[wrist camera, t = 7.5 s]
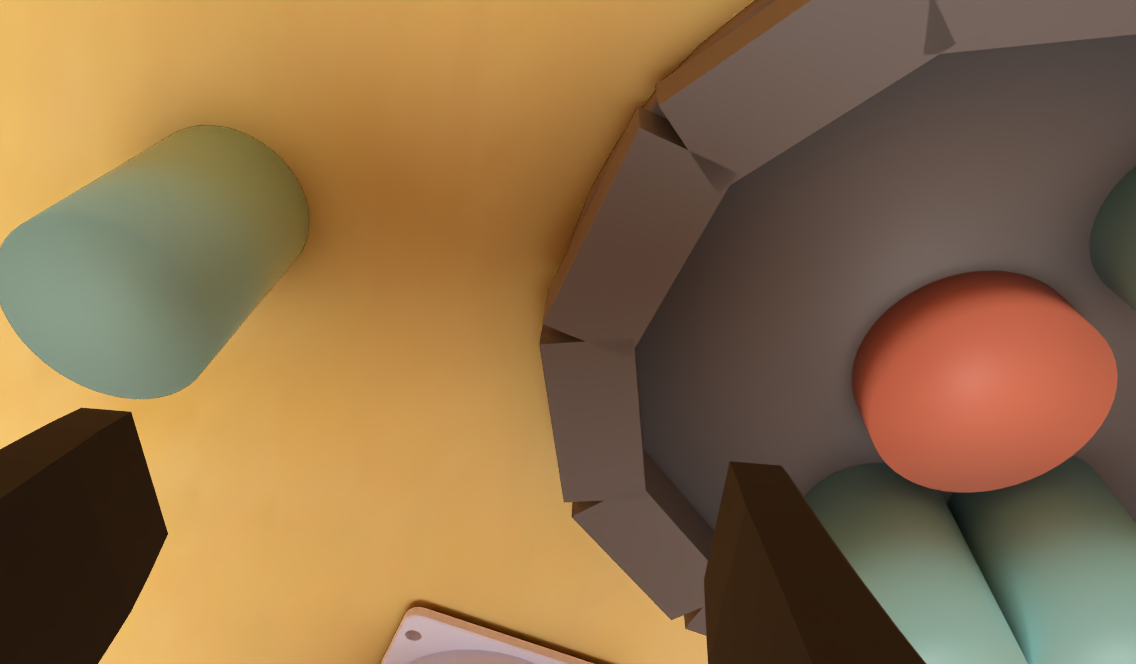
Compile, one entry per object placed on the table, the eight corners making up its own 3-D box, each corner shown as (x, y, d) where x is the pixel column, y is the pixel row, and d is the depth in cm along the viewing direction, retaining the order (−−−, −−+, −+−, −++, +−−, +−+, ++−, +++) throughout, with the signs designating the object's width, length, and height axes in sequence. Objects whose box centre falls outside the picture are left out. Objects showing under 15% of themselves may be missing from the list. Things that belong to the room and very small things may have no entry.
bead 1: (289, 301, 19) (195, 426, 15) (137, 241, 19) (-8, 354, 14) (326, 167, 17) (229, 266, 13) (157, 96, 17) (-3, 176, 12)
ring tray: (1002, 674, 25) (1038, 750, 23) (453, 475, 22) (434, 541, 20) (1646, 157, 15) (1811, 203, 13) (836, -323, 12) (880, -362, 10)
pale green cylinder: (886, 583, 22) (950, 760, 17) (768, 539, 21) (806, 711, 17) (975, 493, 20) (1073, 667, 15) (849, 442, 19) (914, 608, 15)
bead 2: (1030, 575, 21) (1134, 755, 17) (914, 529, 20) (991, 704, 16) (1136, 482, 19) (1283, 658, 15) (1012, 429, 19) (1128, 597, 14)
